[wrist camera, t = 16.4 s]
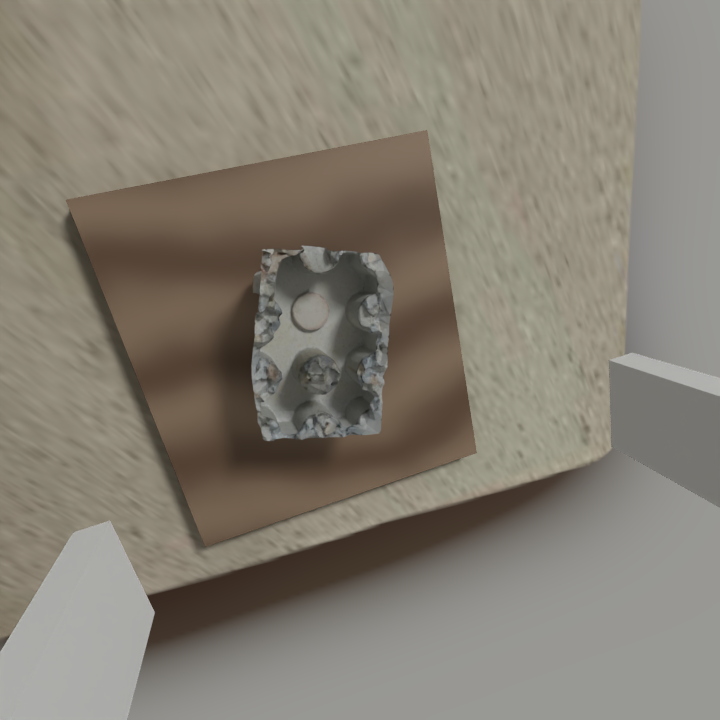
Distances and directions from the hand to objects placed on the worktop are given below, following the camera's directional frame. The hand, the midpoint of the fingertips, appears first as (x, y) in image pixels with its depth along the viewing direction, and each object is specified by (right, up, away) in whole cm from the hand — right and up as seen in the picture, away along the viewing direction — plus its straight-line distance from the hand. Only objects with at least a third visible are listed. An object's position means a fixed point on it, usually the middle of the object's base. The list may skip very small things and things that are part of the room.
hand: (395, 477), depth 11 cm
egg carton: (-6, +4, +16) cm, 18 cm away
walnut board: (-4, +4, +17) cm, 18 cm away
